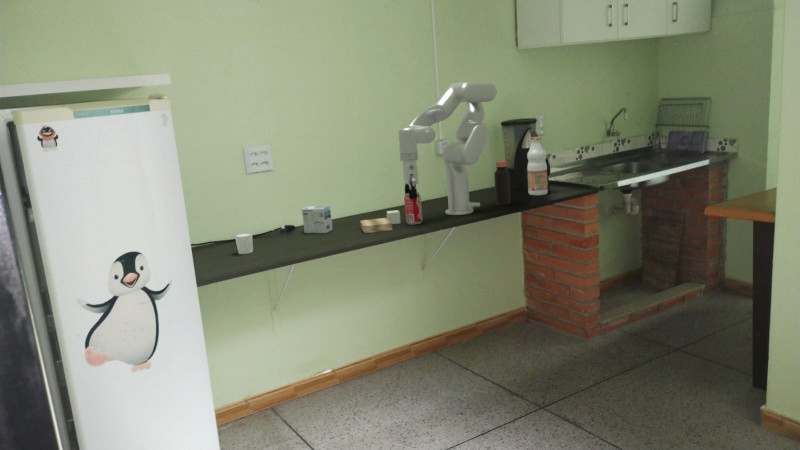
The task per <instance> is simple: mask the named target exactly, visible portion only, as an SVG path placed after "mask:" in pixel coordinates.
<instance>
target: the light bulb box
mask: <svg viewBox="0 0 800 450" xmlns="http://www.w3.org/2000/svg"><path fill="white" fill-rule="evenodd" d="M301 213H302V221H303V222H302V223H303V229H304V230H303V231H304V232H303V233H304V234H327V233H329V232H331V231H332V230H333V221H332V212H331V205H309V206H308V205H307V206H306V207H303V208H301Z"/></svg>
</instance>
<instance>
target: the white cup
mask: <svg viewBox="0 0 800 450" xmlns="http://www.w3.org/2000/svg"><path fill="white" fill-rule="evenodd" d="M234 239H235V243H236V248H237V252H238V255H247V254H251V253H253V252H254V245H253V243H254V242H253V241H254V240H253V233H251V232H244V233H238V234H236V235H234Z"/></svg>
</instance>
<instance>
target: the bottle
mask: <svg viewBox="0 0 800 450" xmlns="http://www.w3.org/2000/svg"><path fill="white" fill-rule="evenodd" d="M507 164H508V162H507V161H506V160H498V161H496V162H495V168H496V170H495V172H494V192H495V205H497V206H499V207H501V206H508V205H511V183H510V172H509V170H508V169H507V166H508V165H507Z"/></svg>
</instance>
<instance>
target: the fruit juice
mask: <svg viewBox="0 0 800 450" xmlns="http://www.w3.org/2000/svg"><path fill="white" fill-rule="evenodd" d="M530 142H531V144H530V147H529V150H528V152H527V153H526V154H527V156H526V158H527V161H528V162H527V169H526V170H527V191H528V195H530V196H544V195H547V194H548V192H549V189H548V188H549V186H548V166H547V162H546V160H547V152H546V150H545V149H544V146H543V145H542V137H541V136H530Z"/></svg>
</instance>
